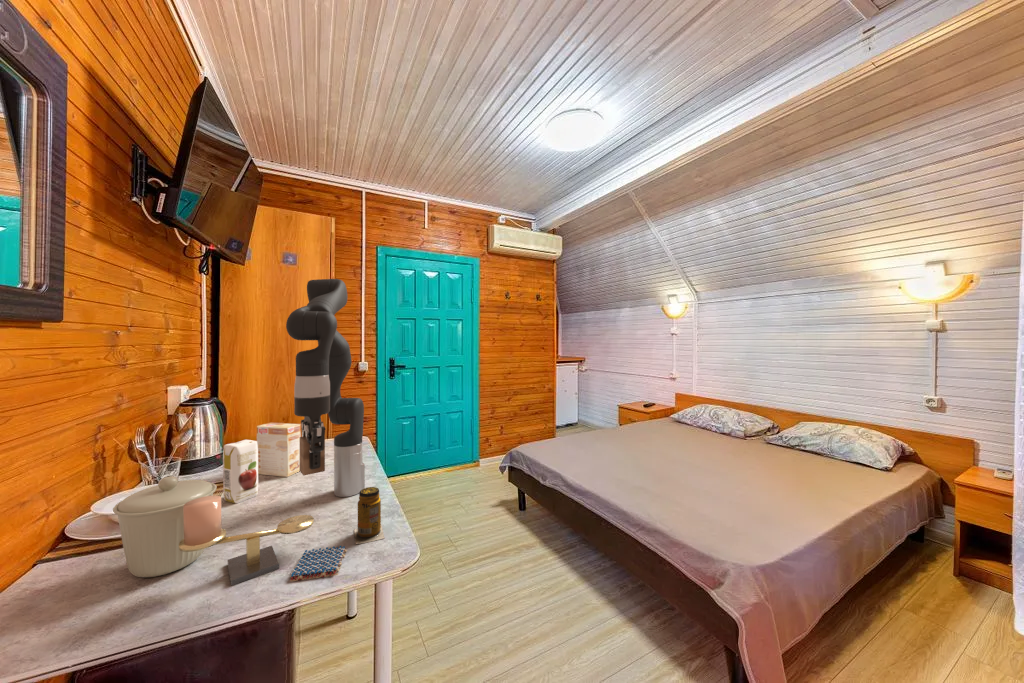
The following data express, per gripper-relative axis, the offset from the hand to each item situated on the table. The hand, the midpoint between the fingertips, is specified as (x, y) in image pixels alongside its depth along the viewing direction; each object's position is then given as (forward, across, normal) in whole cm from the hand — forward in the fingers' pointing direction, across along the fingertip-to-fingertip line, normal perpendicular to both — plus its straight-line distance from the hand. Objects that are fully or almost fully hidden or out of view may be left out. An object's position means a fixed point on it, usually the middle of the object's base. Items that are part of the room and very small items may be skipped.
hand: (312, 465), depth 87 cm
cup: (+14, +9, +20) cm, 26 cm away
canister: (+24, +24, +26) cm, 43 cm away
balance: (+24, +9, +11) cm, 28 cm away
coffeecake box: (+23, +76, -4) cm, 80 cm away
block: (+1, 0, 0) cm, 1 cm away
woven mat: (+25, -1, -1) cm, 25 cm away
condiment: (+24, +6, -15) cm, 29 cm away
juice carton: (+24, +57, +10) cm, 63 cm away
